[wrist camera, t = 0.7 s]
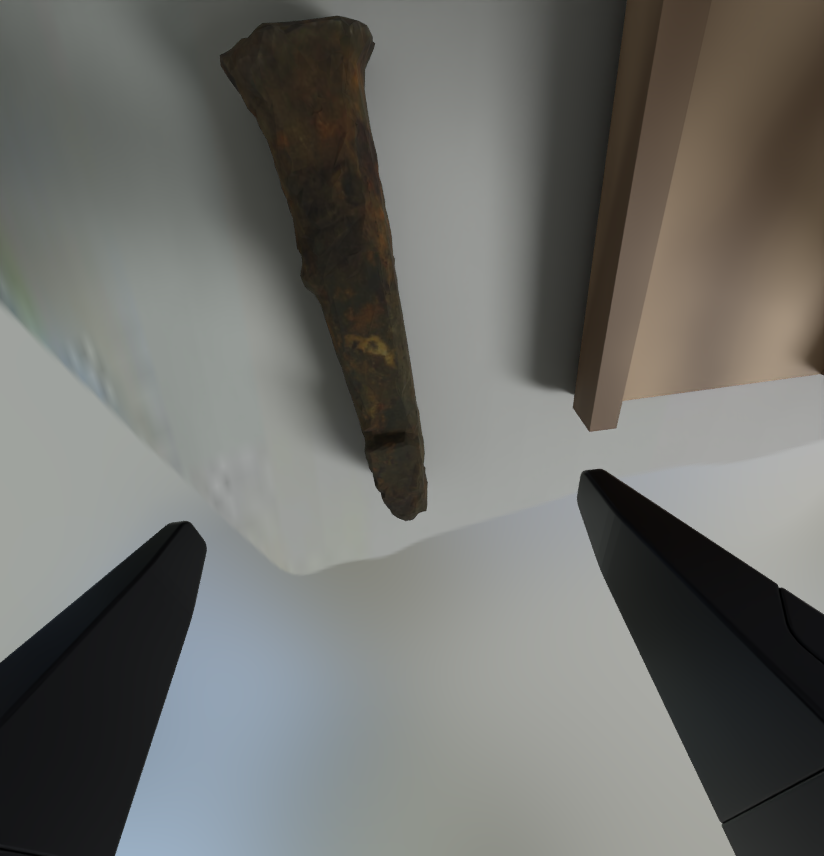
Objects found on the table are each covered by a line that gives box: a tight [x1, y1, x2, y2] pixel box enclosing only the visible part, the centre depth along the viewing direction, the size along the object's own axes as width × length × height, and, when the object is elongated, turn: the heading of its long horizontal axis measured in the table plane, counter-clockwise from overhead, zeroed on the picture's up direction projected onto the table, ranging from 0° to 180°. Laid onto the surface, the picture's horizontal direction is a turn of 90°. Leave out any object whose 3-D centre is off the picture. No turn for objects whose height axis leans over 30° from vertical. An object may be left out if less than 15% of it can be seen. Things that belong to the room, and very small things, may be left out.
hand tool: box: [220, 16, 428, 521], centre depth 16 cm, size 19×4×5 cm, turn 7°
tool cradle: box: [573, 0, 824, 432], centre depth 13 cm, size 13×17×3 cm
